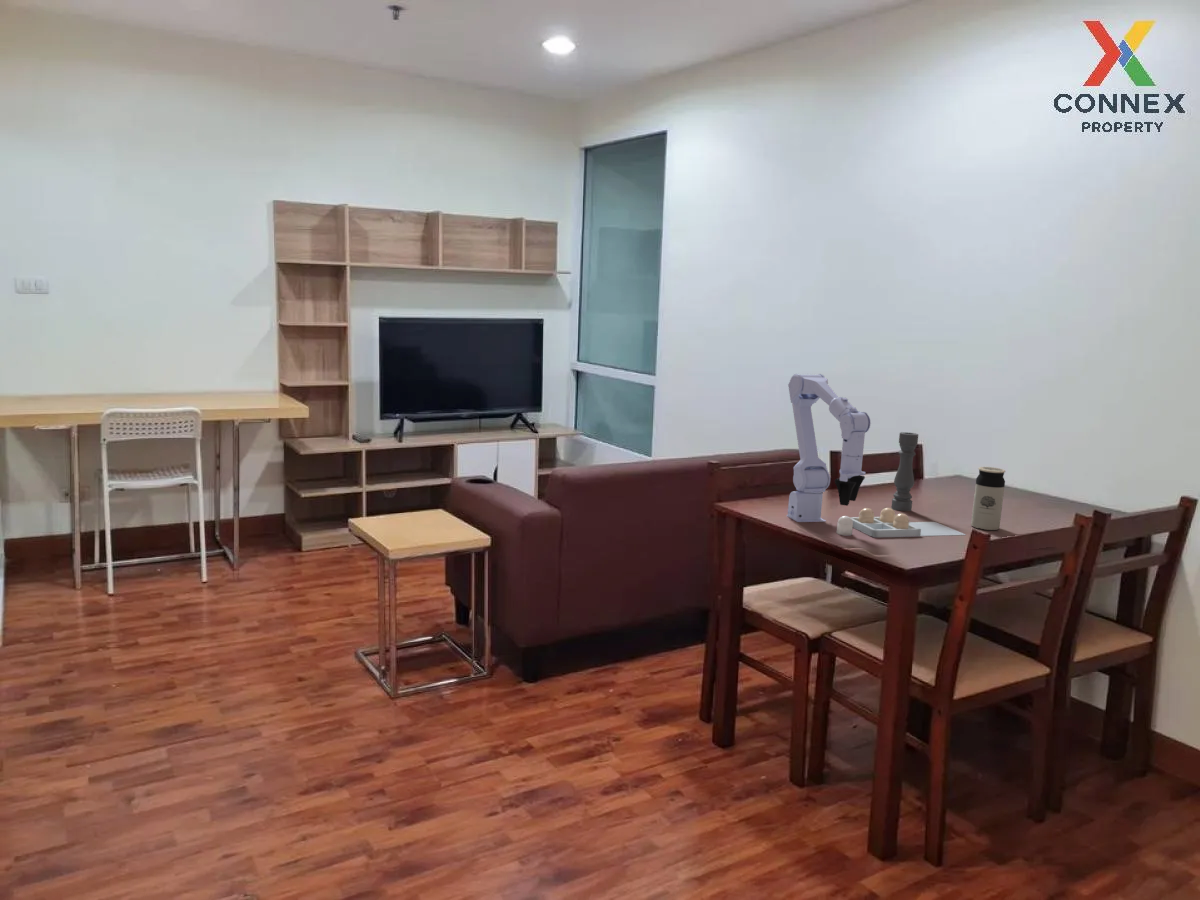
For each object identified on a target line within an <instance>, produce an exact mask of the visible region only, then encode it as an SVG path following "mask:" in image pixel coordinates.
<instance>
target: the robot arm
mask: <svg viewBox="0 0 1200 900" xmlns="http://www.w3.org/2000/svg"><path fill="white" fill-rule="evenodd" d="M787 385H788V393H789V400H790V403H791V404H792V413H793V418H794V424H795V433H796V438H797V439H796V440H797V446H798V452H799V458H800V459H799V461H798V462H797V463H796V464H795V465H794V466H793V476H792V482H793V485H794V487H795V490H794V491H791V492H790V493H789V496H788V504H787V505H788V506H787V514H786V515H785V516H786V517H788V518H790V519H791V520H793V521H795V522H797V523H809V522H810V523H814V522H815V523H817V522H819V523H820V522H827V520H826V519H823V518H822V509H823V508H822V507H823V497H824V493H825V492H826V489H828V488H829V486H830V484H831V474H830V472H829V470H828V467H827V463H826V462H825V461H823V460H822V459H820V457H819V453H818V446H817V440H816V433H815V428H814V421H813V420H814V419H813V413H812V406H813V405H814V404H815V403H817V402H818V401H819V400H820V399H821V401H823V402H825V403H826V405H828V411H829V413H830V414H831V415H832V416H833V417H834V418H835V419H836V420H837V421H838V422H839V428H840V431H841V439H842V447H841V456H840V457H841V458H840V469H839V472H838V473H839V478H835V479H834V484H835V485H836V488H837V493H838V499H839V504H840V506H847V507H848V506H849V504H850V501H853V502H855V501H856V500H857V497H858V495H859V494H858V493H859V490H860V488H861V485H862V483H863V482H864V480H865V478H866V477H865V475H866V474H867V473H866V471H862V467H863V456H864V447H865V445H864V444H865V436H866V433H868V432H869V430H870V428H871V418H870V416H869V414H868V413H867V412H866V411H860V410H859V411H858V409H857V408H856V407H855V406H853V405H852V404H851V402H849V399H848V398H847V397H843V396H838V395H837V393H836V392H834V390H833V389H832V388H831V386H830V385H829V380H828V378H827V377H825V375H824V374H822V373H817V374H816V373H814V374H813V373H812V374H811V373H810V374H809V373H807V374H806V373H805V374H804V373H800V374H799V373H793V375H792V376H791V377H790V380H789V382H788V384H787Z"/></svg>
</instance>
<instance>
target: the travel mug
mask: <svg viewBox="0 0 1200 900" xmlns="http://www.w3.org/2000/svg"><path fill="white" fill-rule="evenodd" d="M977 469H978V472H979V473H978V475H977V477H976V478H975V487H974V496H973V503H972V512H971V522H970V525H971V526H972V527H973V528H975V529H978V528H981V529H980V530H982V529H984V530H983V531H997V530H1000V526H1001V519H1002V510H1003V501H1004V494H1005V485H1006V480H1005V477H1004V475H1005V473H1006V470H1005V468H1004V469H1003V468H999V467H994V466H993V467H992V466H979V467H978V468H977Z"/></svg>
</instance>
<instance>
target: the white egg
mask: <svg viewBox="0 0 1200 900" xmlns="http://www.w3.org/2000/svg"><path fill="white" fill-rule="evenodd" d="M853 529H854V528H853V521H852V519H851V518H850V516H848V515H842V516H840V517H839V518H838V520H837V526H836V534H837V535H839V536H844V537H845V536H846V537H850V536H852V535H853Z"/></svg>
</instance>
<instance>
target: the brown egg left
mask: <svg viewBox="0 0 1200 900" xmlns="http://www.w3.org/2000/svg"><path fill="white" fill-rule="evenodd" d="M858 517H859V522H861V523H873V522H874V517H875V514H874V511H873V509H871V508H869V507H864V508H862V509H861V510H860V511H859V513H858Z"/></svg>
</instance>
